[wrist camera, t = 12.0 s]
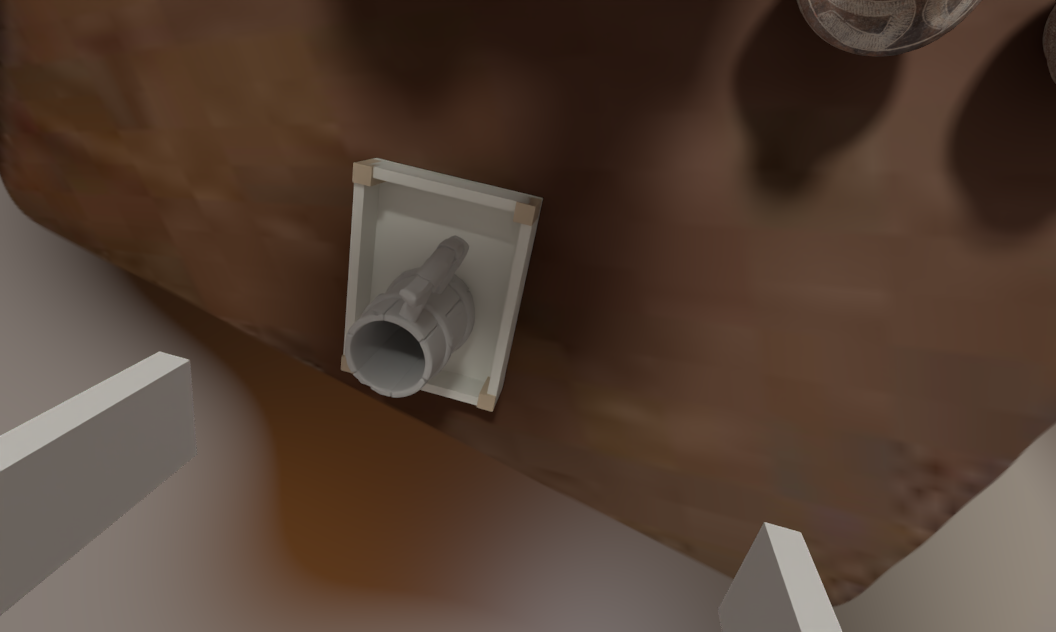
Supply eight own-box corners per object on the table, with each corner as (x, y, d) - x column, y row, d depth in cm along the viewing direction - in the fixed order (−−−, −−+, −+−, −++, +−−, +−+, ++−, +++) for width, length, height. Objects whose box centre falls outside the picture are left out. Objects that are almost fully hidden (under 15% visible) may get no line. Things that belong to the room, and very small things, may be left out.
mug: (380, 319, 45) (302, 388, 34) (431, 200, 40) (360, 236, 29) (456, 361, 45) (403, 443, 34) (516, 249, 40) (477, 302, 30)
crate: (376, 157, 40) (353, 162, 37) (543, 197, 39) (535, 206, 36) (361, 350, 48) (340, 370, 44) (502, 389, 47) (492, 411, 43)
